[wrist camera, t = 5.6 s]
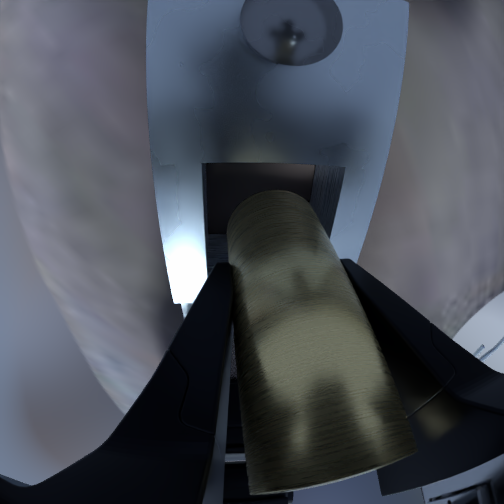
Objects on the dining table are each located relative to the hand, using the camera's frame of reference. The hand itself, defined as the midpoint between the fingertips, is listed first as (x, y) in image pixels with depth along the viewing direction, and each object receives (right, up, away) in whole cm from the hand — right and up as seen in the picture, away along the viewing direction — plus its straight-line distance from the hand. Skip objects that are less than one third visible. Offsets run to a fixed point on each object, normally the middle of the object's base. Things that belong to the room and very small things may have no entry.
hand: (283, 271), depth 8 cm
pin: (0, +1, +2) cm, 2 cm away
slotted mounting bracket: (-1, +3, +4) cm, 5 cm away
